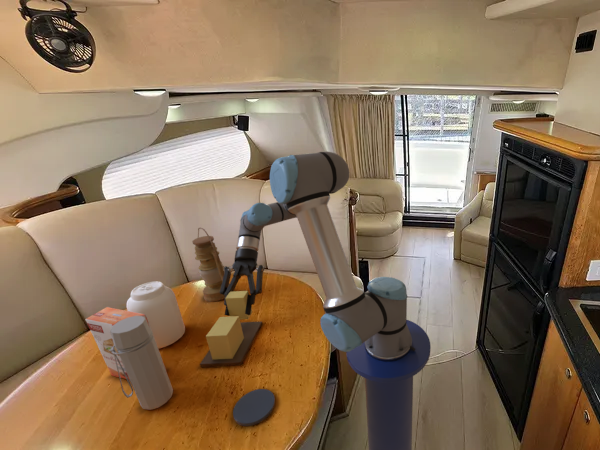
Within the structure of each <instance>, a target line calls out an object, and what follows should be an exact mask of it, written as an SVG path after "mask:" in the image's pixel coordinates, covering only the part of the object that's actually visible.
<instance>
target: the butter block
mask: <svg viewBox="0 0 600 450" xmlns="http://www.w3.org/2000/svg"><path fill="white" fill-rule="evenodd" d="M240 322H241V320H240V319H239V316H231V317H230V316H220V317H218V319H217V320H216V322H215V323H214V324H213V325H212V327H211V328H210V330H209V331H208V332H207V334H206V335H205V338H206V342H207V345H208V349H209V350H210V353H211V356H212V360H215V359H233V357H234V355H235V353H236V352H237V350H238V348H239V346H240V344H241V343H242V341H243V339H244V336H243V332H242V327H241V323H240Z"/></svg>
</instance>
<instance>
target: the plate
mask: <svg viewBox="0 0 600 450" xmlns="http://www.w3.org/2000/svg"><path fill="white" fill-rule="evenodd" d="M275 406H276V398H275V395H274V393H273V391H271V390H269V389H266V388H257V389H254V390H251V391H249V392H247V393H245V394H244V395H242V397H240V398H239V399H238V400H237V401H236V403H235V405H234V407H233V410H232V416H233V417H232V418H233V420H234V422H235V423H236V424H237V425H238V426H242V427H251V426H254V425H255V426H256V425H257V424H260V423H261V422H263V421H265V420H266V419H267V418H268V417H269V416H270V415H271V413H272V412H273V410H274V408H275Z"/></svg>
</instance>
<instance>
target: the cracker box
mask: <svg viewBox="0 0 600 450" xmlns="http://www.w3.org/2000/svg"><path fill="white" fill-rule="evenodd" d="M133 316H143V317H144V318H145V320H146V322H147V324H148V325H149V322H148V320H147V317H146V315H145V314H140V313H135V312H130V311H128V310H125V309H121V308H120V309H119V308H114V307H110V306H106V307H104V308H102V309H100V310H99V311H98V312H96V313H93V314H92V315H90V316H88V317H87V318H85V322H86V324H87V326H88V328H89V331H90V333H91V335H92V337H93V339H94V342H95V343H96V345H97V347H98V350H99V352H100V354H101V356H102V358H103V360H104V362H105V365H106V367H107V369H108V371H109V373H110V375H111V376H112V377H117V378H119V374H120V378H121V379H124V380H127V379H126V377H125V375H124V373H123V371H122V369H121V367H120V365H119V363H118V360H119V362H120V364H121V366H122V368H123V370H124V372H125V374H126V376H127V378H128V380H129V381H130V379H129V377H128V375H127V372H126V370H125V368H124V365H123V363H122V361H121V358H120V356H119V354H117V355H116V356H117V358H118V360H117V358H116V361H117V365H118V370H119V374H118V370H117V365H116V361H115V357H116V356H114V355H113V353H112V352H111V351H110V348H112V347H113V346H114V343H113V340H112V336H111V332H110V329H111V328H112V326H113V325H114V324H116V323H117V322H119V321H121V320H123V319H126V318H128V317H133ZM149 327H150V325H149ZM150 329H151V328H150ZM154 339H155V338H154ZM155 342H156V341H155ZM114 349H115V351H116V353H118V351H117V349H116V347H114ZM158 350H159V353H160V354H161V352H160V348H159V349H158ZM161 358H162V356H161ZM162 361H163V364H164V366H165V363H164V360H163V358H162ZM165 369H166V370H167V368H166V366H165Z"/></svg>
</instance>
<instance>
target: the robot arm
mask: <svg viewBox="0 0 600 450" xmlns="http://www.w3.org/2000/svg"><path fill="white" fill-rule="evenodd" d="M349 179H350V168H349V165H348V163H347V161H346V160H345V159H344V158H343V157H342V156H341V155H339V154H337V153H335V152H334V151H333V152H332V151H329V150H328V151H326V150H325V151H319V152H309V153H308V152H307V153H301V154H290V155H287V156H282V157H278V158H276V159H275V160H274V161H273V163H272V164H271V166H270V171H269V185H270V190H271V193H272V196H273V198H274V199H275V200H276V202H271V203H265V202H257V203H254V204H252V206H251V207H249V209H248V210H246V211H245V210H244V211H243V212H242V214H241V218H240V219H239V222H240V224H239V230H238V237H237V243H236V247H235V249H236V250H235V254H234V261H233V263H232V265H229V266H227V265H226V266H225V265H224V277H223V281H222V285H221V289H220V294H223V295H225V298H226V297H227V295H228V294H229V293H230V292H233V291H235V289H236V287H237V285H238V283H239V280H241V278H242V277H245V276H246V278H247V283H248V288H249V295H248V297H247V304H246V311H245V314H247V315H250V314H251V307H252V308H253V305H255V303H256V296H257V295H259V294H262V293H263V277H264V272H265V269H266V268H265V266H264V265H262V264H260V265H259V264H258V257H259V249H260V241H261V235H262V230H263V229H264V228H265V227H267V226H271V225H274V224H275V225H276V224H278V223H282V222H284V221H288V220H293V219H297V221H298V225H299V227H300V230H301V232H302V235H303V238H304V240H305V244H306V246H307V249H308V251H309V255H310V258H311V260H312V262H313V265H314V268H315V272H316V274H317V276H318V279H319V282H320V284H321V288H322V290H323V293H324V296H325V300H324V303H323V304H322V306H323V311H324V312H325V313H324V314H323V315H322V316H321V317H320V320H319V322H320V328H321V331H322V333H323V335H324V337H325V338H326V339H327V341H328V342H329V343H330V344H331V346H333V347H334V348H335V349H337V350H339V351H341V352H344V353H346V352H349V351H351V350H353V349H354V348H356V347H358V346H361V345H362V343H364V342H365V349H366V351H367V353H368V354H369V355H370V356H371V357H372V358H374V359H376V360H379V361H385V362H390V361H396V360H399V359H401V358H403V357H405V356H406V355H407V354H408V353H409V352H410V350H412V351H415V348H413V347H412V337H411V334H410V331H409V329H408V326H407V324H406V320H408V318H407V317H408V316H407V312H408V308H407V307H408V294H407V293H408V292H407V286H406V284H405V282H403V281H401V280H400V279H398V278H395V277H392V276H391V277H390V276H378V277H374V278H372V279H371V280H369V282H368V283H367V286H366V287H367V291H365V290H364V289H363V288H361V287H358V286H357V284H356V282H355V279H354V276H353V273H352V270H351V267H350V265H349V261H348V259H347V256H346V253H345V251H344V248H343V245H342V243H341V239H340V237H339V234H338V231H337V229H336V225H335V222H334V220H333V217H332V213H331V211H330V208H329V206H328V204H329V202H330V200H331V195H332V194H335V193H337V192H339V191H340V190H342V189H343V188H344V187H345V186H346V185H347V183H348V181H349ZM255 270H256V279H255V280H256V281H255V280H254V272H255ZM233 271H234V272H233ZM232 273H233V274H232ZM231 276H232V278H231ZM228 285H229V286H228ZM225 298H224V299H223V300H224V301H223V305H224V306H225V309H224V316H226V317H230V315H229V311H228V307H227V303H226V299H225ZM251 315H252V314H251Z"/></svg>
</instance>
